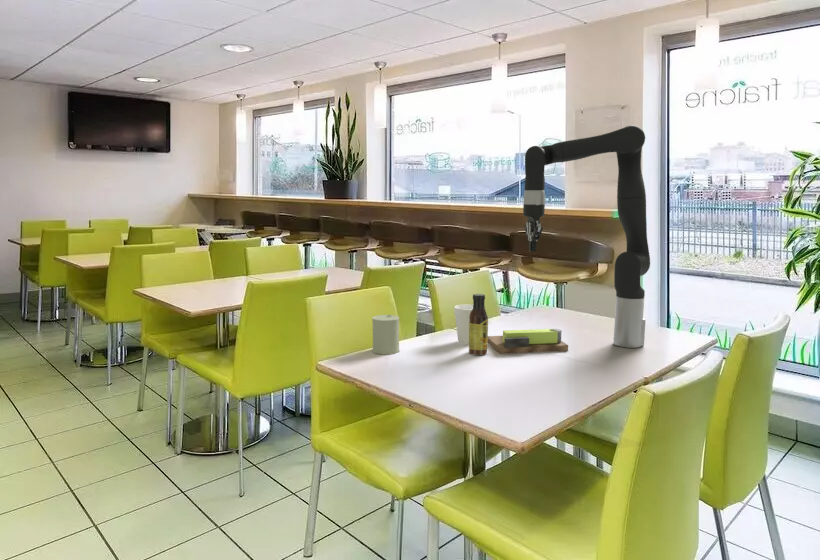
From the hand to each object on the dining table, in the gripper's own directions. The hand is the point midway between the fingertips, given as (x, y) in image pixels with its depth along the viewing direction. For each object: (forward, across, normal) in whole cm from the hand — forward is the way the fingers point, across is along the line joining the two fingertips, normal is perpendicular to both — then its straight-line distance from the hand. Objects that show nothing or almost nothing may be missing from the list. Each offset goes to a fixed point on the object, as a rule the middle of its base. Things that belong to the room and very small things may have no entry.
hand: (532, 251), depth 207 cm
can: (+32, +11, -55) cm, 65 cm away
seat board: (+32, +12, -6) cm, 35 cm away
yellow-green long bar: (+30, +16, -5) cm, 34 cm away
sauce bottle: (+32, +18, -25) cm, 45 cm away
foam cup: (+32, +4, -25) cm, 41 cm away
